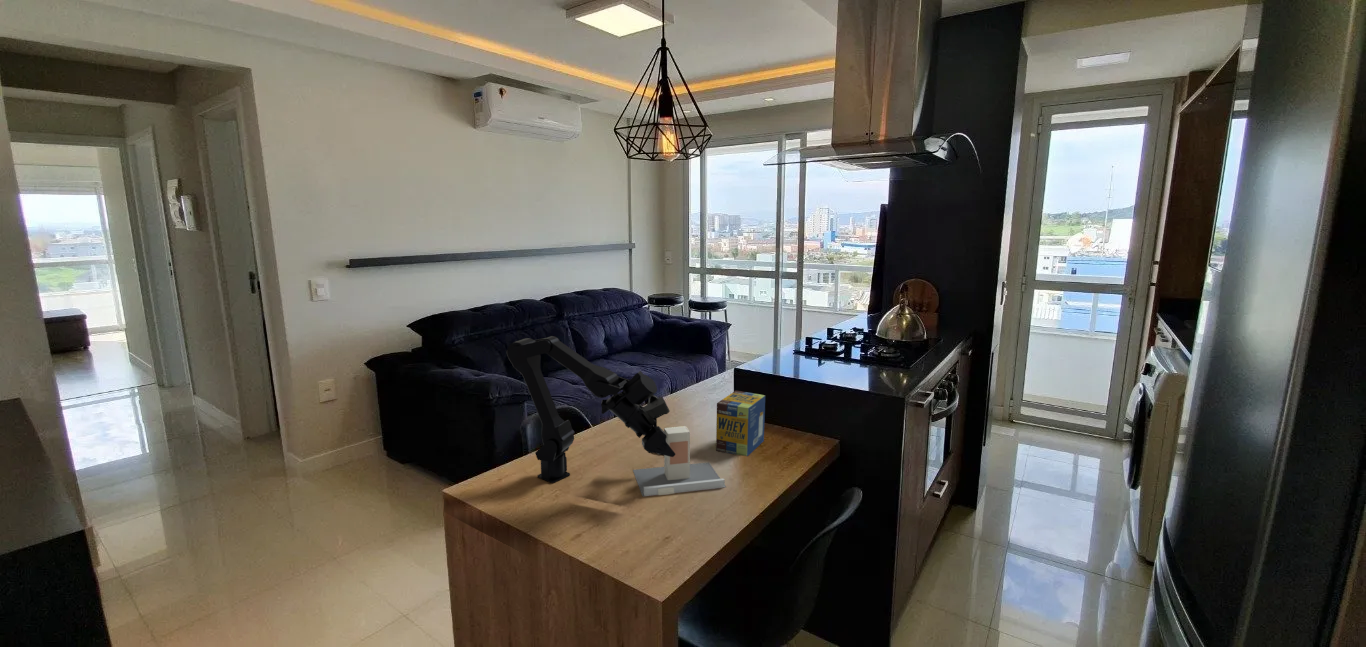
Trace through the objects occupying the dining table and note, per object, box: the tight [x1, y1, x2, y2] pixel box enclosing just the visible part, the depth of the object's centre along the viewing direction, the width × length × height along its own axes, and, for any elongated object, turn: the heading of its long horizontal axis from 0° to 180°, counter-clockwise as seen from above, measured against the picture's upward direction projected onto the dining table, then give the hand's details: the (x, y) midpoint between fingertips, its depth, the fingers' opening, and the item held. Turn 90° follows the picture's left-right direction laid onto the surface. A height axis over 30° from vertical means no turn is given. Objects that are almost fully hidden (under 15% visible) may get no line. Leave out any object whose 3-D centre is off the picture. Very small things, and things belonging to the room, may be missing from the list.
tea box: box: [663, 425, 691, 480], centre depth 152 cm, size 6×5×13 cm
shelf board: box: [632, 461, 727, 497], centre depth 151 cm, size 22×16×4 cm
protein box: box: [715, 390, 766, 457], centre depth 177 cm, size 10×15×16 cm
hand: (670, 448), depth 151 cm, fingers open, 9 cm apart
